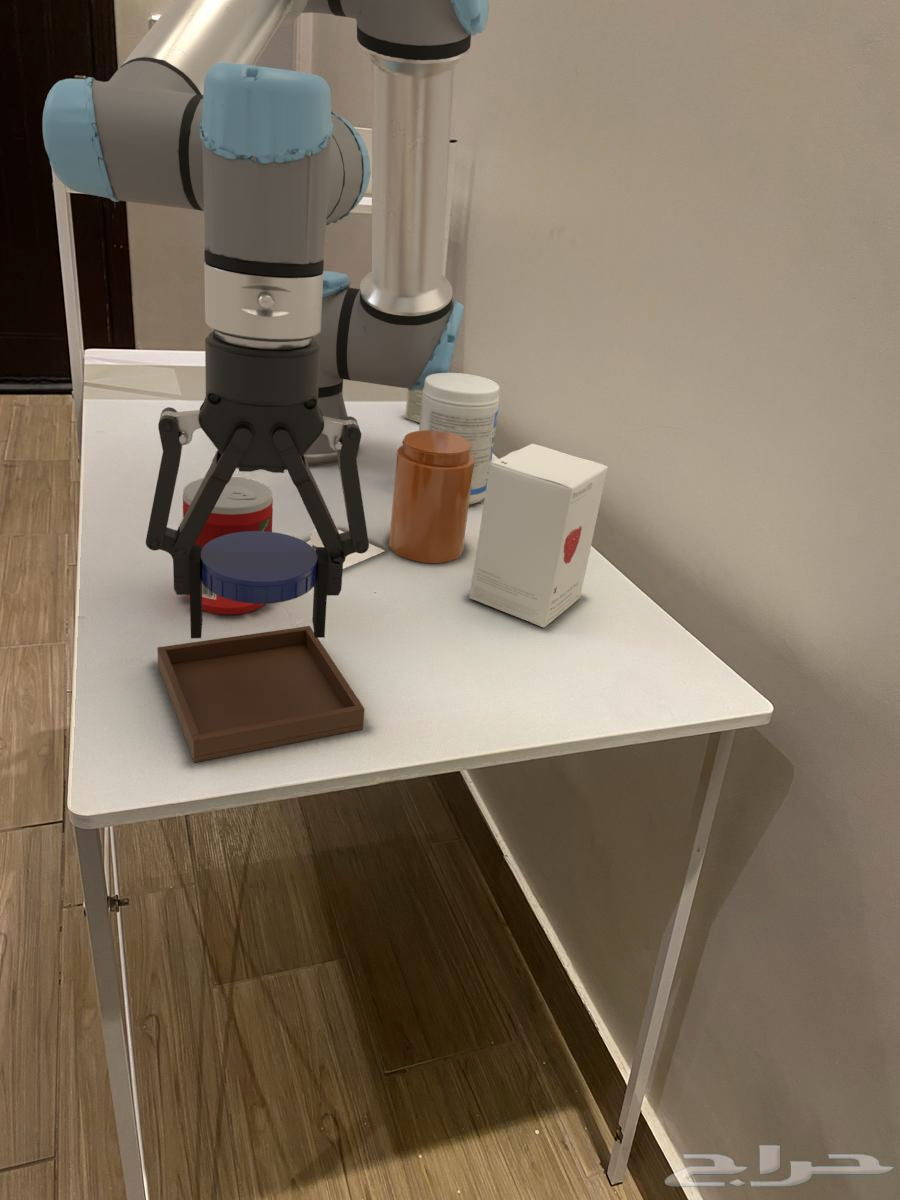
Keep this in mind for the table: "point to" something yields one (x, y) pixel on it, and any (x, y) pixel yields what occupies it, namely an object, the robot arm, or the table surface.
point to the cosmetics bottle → (414, 405)
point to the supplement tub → (464, 417)
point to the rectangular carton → (536, 532)
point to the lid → (258, 567)
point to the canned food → (232, 528)
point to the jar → (431, 496)
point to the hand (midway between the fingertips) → (258, 628)
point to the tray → (256, 692)
